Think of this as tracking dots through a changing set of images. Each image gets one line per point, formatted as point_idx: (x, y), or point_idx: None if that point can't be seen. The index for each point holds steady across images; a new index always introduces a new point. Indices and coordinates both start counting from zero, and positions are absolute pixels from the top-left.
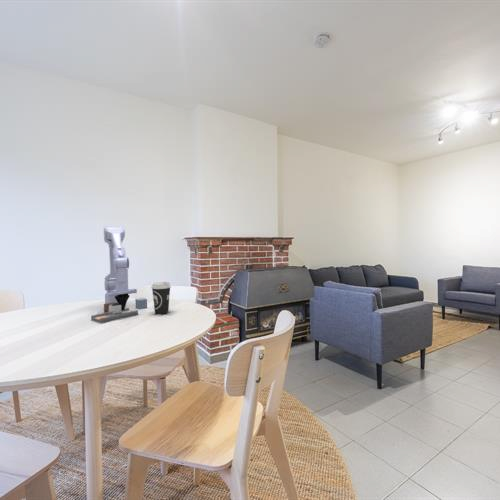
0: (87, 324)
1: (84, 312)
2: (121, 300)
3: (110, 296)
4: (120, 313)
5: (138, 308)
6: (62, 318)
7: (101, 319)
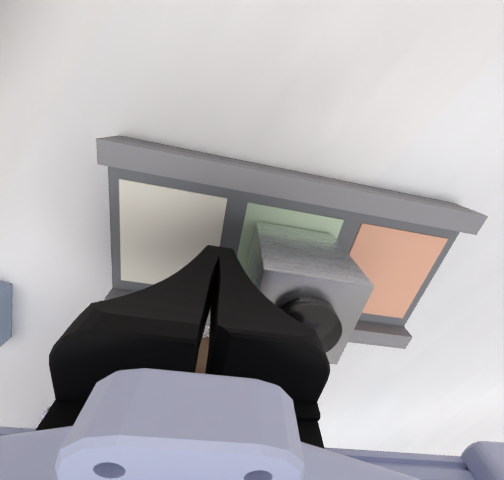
0: (482, 265)
1: None
2: (266, 307)
3: (444, 467)
4: (265, 226)
5: (5, 294)
6: (387, 444)
7: (474, 211)
